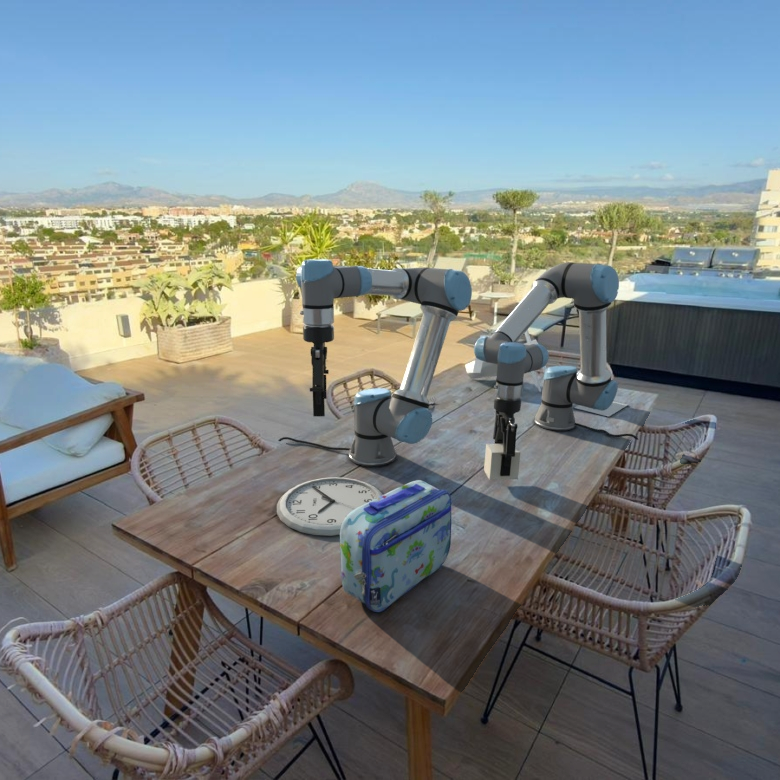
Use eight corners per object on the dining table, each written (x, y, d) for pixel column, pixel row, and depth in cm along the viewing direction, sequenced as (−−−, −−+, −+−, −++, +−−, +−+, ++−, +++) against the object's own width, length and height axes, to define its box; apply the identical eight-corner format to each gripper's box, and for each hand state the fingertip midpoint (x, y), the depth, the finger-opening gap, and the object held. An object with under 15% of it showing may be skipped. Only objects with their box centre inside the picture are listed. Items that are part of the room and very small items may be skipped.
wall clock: (392, 527, 129) (268, 531, 127) (391, 533, 130) (269, 537, 127) (383, 473, 158) (282, 475, 155) (383, 478, 158) (282, 480, 156)
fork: (420, 411, 216) (420, 406, 216) (430, 400, 230) (431, 395, 230) (426, 412, 215) (426, 407, 215) (436, 401, 230) (436, 396, 229)
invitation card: (608, 416, 214) (573, 407, 224) (608, 416, 214) (573, 408, 224) (628, 404, 229) (594, 396, 238) (628, 405, 229) (594, 397, 238)
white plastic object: (486, 420, 263) (466, 398, 238) (467, 347, 285) (447, 319, 261) (558, 397, 251) (544, 370, 226) (532, 322, 273) (517, 290, 248)
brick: (511, 469, 160) (513, 443, 158) (517, 479, 154) (520, 452, 152) (483, 470, 160) (486, 443, 157) (489, 480, 154) (491, 452, 151)
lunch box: (369, 626, 100) (370, 530, 93) (334, 598, 107) (332, 507, 101) (455, 567, 117) (460, 483, 111) (419, 547, 124) (423, 467, 118)
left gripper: (306, 316, 139) (308, 392, 145) (298, 334, 115) (301, 424, 122) (334, 316, 140) (335, 391, 146) (332, 334, 116) (334, 424, 122)
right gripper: (486, 387, 159) (481, 456, 166) (505, 408, 140) (498, 485, 147) (510, 386, 159) (504, 456, 166) (532, 407, 141) (524, 484, 148)
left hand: (320, 406), depth 134 cm, fingers open, 13 cm apart
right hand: (501, 469), depth 157 cm, fingers closed on brick, 6 cm apart
